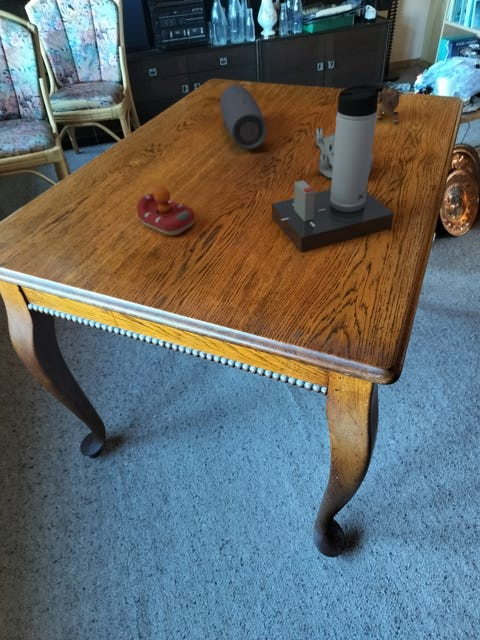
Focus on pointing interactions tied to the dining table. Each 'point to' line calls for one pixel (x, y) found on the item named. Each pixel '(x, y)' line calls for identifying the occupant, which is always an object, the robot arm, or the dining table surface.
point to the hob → (330, 221)
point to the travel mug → (353, 146)
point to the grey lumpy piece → (328, 153)
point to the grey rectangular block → (304, 200)
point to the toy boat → (164, 213)
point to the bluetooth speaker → (242, 117)
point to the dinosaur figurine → (389, 102)
